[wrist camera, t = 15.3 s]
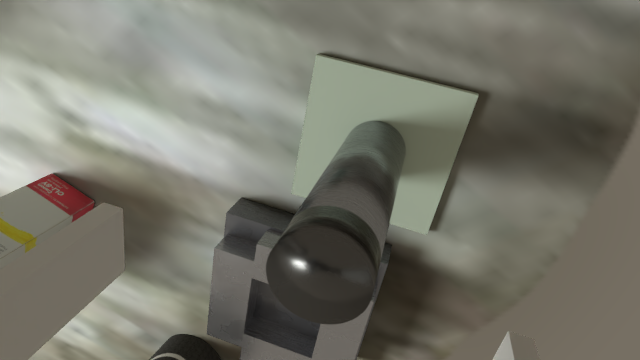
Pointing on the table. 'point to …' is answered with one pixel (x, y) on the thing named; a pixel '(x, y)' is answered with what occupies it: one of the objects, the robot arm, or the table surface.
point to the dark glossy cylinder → (340, 230)
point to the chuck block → (271, 296)
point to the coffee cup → (185, 349)
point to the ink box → (37, 214)
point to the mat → (395, 109)
